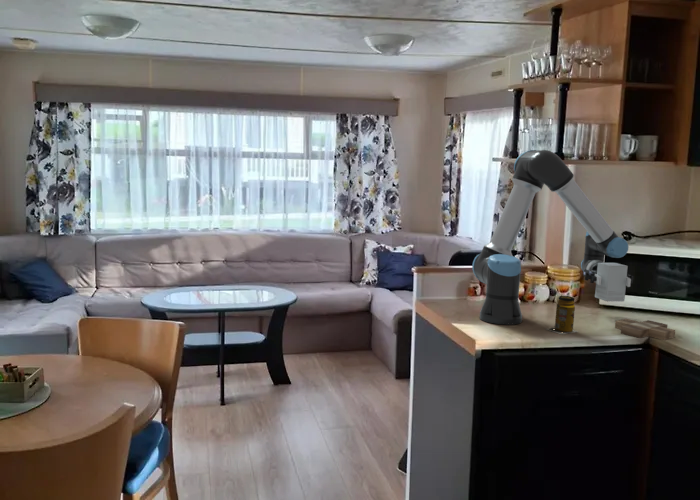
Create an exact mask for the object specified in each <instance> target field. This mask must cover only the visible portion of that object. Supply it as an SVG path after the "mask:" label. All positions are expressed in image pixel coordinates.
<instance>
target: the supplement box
mask: <svg viewBox="0 0 700 500" xmlns="http://www.w3.org/2000/svg"><path fill="white" fill-rule="evenodd" d="M628 267H629V266H628V265H625V264H621V263H619V262H604V263H598V267H597V274H598V275H599V276H600V277H602V278H601V285H598V284H597V283H595V292H594V298H596V299H598V300H602V301H603V302H625V299H626V288H627V286H626V279H627V274H628Z"/></svg>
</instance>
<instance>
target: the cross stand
mask: <svg viewBox="0 0 700 500" xmlns="http://www.w3.org/2000/svg"><path fill="white" fill-rule="evenodd" d="M614 328H615V329H618V330H620V334H622V335H626V336H630V337H634V338H638V339H641V338H646V337H649V338H651V337H652V338H655V339H660V340H665V341H666V340H669V339H673V338H675V337H676V329H674V328H673V329H672V328H668V323H663V322H658V321H655V320H648V319H647V320H644V321H639V320H633V319H629V318H624V319H619V320H618V319H617V320H615V323H614Z"/></svg>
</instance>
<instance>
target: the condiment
mask: <svg viewBox="0 0 700 500" xmlns="http://www.w3.org/2000/svg"><path fill="white" fill-rule="evenodd" d="M555 310H556V311H555V321H554V327H551V328H549V327H548V328H546V330H547V331H550V332H553V333H556V334H559V335H566V334H573V333H578V332H579V331H577V330H574V321H575V310H576V306H575V297H574V296H570V295H558V300H557V303H556V309H555ZM553 329H555V330H553ZM561 332H563V333H561Z"/></svg>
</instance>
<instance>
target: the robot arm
mask: <svg viewBox="0 0 700 500" xmlns="http://www.w3.org/2000/svg"><path fill="white" fill-rule="evenodd" d="M513 171H514V173H513V176H512V179H511V180H512V183H513V186H512V189H511V191H510V194H509V196H508V198H507V200H506V203H505V206H504V208H503V210H502V213H501V215H500V217H499V220H498V222H497V224H496V227H495V229H494V232H493V234H492V236H491V239H490V241H489V243H487V244H484V245H483V247H482V250H481V252H480V253H479V254H476V256H475V257H474V259H473V261H472V265H471V266H472V267H471V269H472V273H473V274H474V276H475V277H476V279H477V280H478V281H479V282H481V283H483V284H485V285H486V289H485V291H486V292H485V299H484V301H483V303H482V306H481V309H480V310H479V319H480V320H481V321H483V322H486V323H491V324H495V325H508V326H509V325H511V326H512V325H518V324H520V323H522V322H523V314H522V310H521V306H520V301H519V298H520V297H519V296H520V295H519V294H520V283H521V272H522V266H521V265H522V263H521V260H520V259H519V258H518V257H516V256H515V255H514V256H513V253H512V250H513V247H514V245H515V242H516V240H517V238H518V236H519V233H520V231H521V228H522V226H523V224H524V221H525V219H526V217H527V214H528V212H529V210H530V208H531V205H532V202H533V200H534V197H535V195H536V194H537V193H538V192H541V191H542V189H543V187H544V186H546V187H547V188H548V189H549V191H551V192H552V193H556V195H557V196H558V197H559V199H561V201H562V202H563V203H564V204H565V206H566V207H567V208H568V209H569V211H570V212H571V213H572V215H573V216H574V218H576V219H577V221H578V222H579V223H580V224H581V226H582V227H583V228H584V229H585V231H586V232H585V233H586V234H585V236H584V237H585V240H584V241H585V242H584V253H583V254H584V255H583V259H582V261H581V263H580V267H581V270H582V272H583V277H584V280H585V282H586V281H589V280H590V282H589V283H590V284H594V283H595V284H596V283H597V284H598V285H601V278H602V277H600V276H599V275H598V274H597V267H598V263H605V256H607V257H609V258H615V259H620V258H623V257H624V256H626V255H627V253H628V251H629V243H628V241H627V240H626V239H624V238H622V237H620V236H618V234H617V233H616V232H615V231H614V229H613V228H612V227H611V226H610V225H609V223H608V222H607V221H606V219H605V218H604V216H603V215H602V214H601V213H600V211H599V210H598V209H597V208H596V206H595V205H594V204H593V202H592V201H591V200H590V199H589V198H588V196H587V194H585V192H584V191H583V190H582V188H581V187H580V186H579V184H578V183H577V182H576V180H575V179H574V177H575V175H574V173H573V172H572V170H571V169H570V168H569V167H568V166H567V165H566V163H565V161H564V160H562V158H561V157H560V156H558V155H557V154H556V153H555V152H553V151H550V150H547V149H542V150H541V149H540V150H538V149H537V150H536V149H532V150H530V149H529V150H526V151H524V152H522V153H521V154H519V155H518V157H517V158H516V159H515V161H514V164H513ZM633 282H634V275H631V274H629V273H627V279H626V288H630V287H631V284H633Z"/></svg>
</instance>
